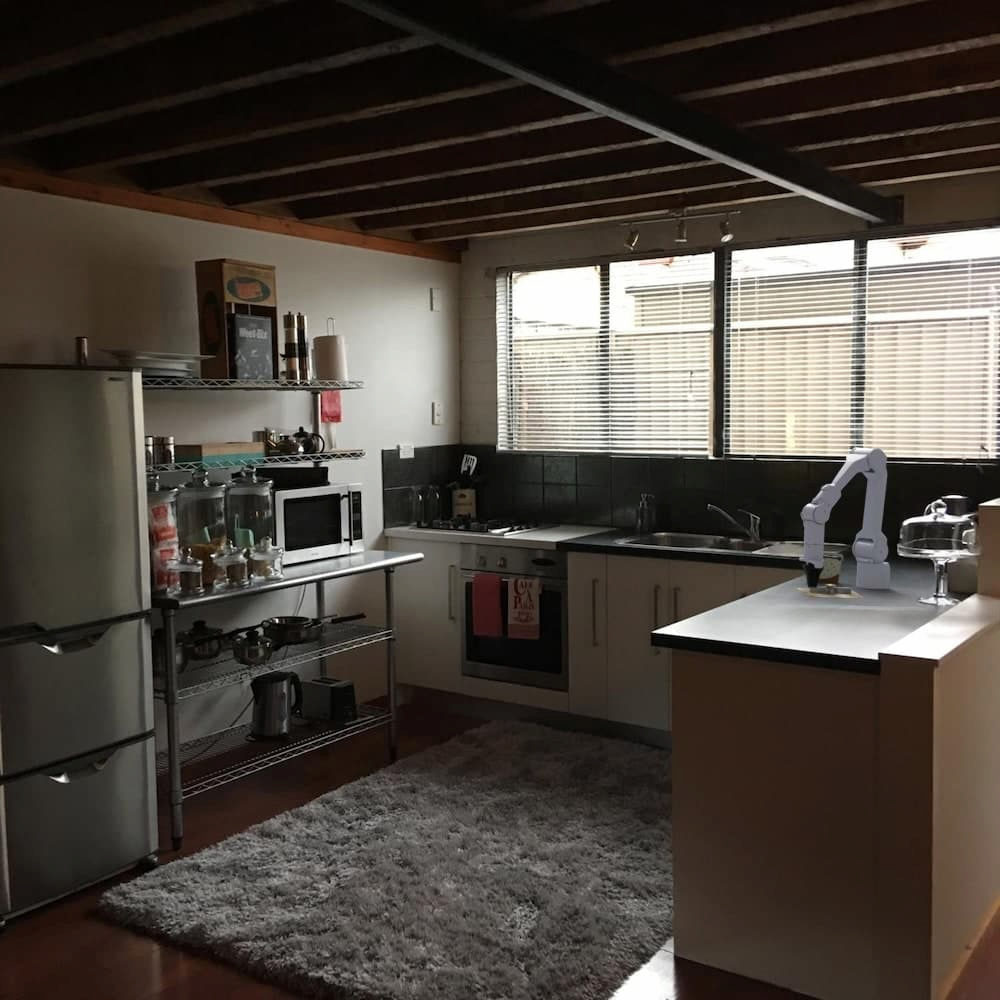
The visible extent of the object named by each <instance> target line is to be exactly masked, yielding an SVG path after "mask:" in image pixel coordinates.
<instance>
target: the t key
mask: <svg viewBox="0 0 1000 1000" xmlns="http://www.w3.org/2000/svg"><path fill="white" fill-rule="evenodd" d="M827 587H828V586H825V585H824V586H817V587H809V592H810V593H826V594H837V593H841V594H851V590H852V588H851V587H847V586H846V587H845V586H844V587H839V586H838V587H837V586H835V587H833V588H827Z"/></svg>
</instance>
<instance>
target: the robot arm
mask: <svg viewBox="0 0 1000 1000" xmlns="http://www.w3.org/2000/svg"><path fill="white" fill-rule="evenodd" d="M845 458H846V459H845V462H844V464H843V466H842V467H841V469H840V470H839V471H838V472H837V474H836V476H835V477H834V479H833V480H832V482H831V483H827V484H825V485H822V486H821V488H820V490H819V492H818V493H817V495H816V496H815V497H814V498H813V499H812V500H811V502H810V503H808V504H806V505H805V506H804V507H803V508H802V511H801V512H800V517H801V519H802V521H803V522H802V523H803V527H804V531H803V534H804V536H803V557H799V561H800V562H805V563H806V562H808V564H807V565H806V564H802V568H803V570H804V573H805V578H806V584H807V588H809V587H818V585H819V583H818V580H819V577H820V574H821V572H822V571H823V569H824V567H823V566H822V563H823V562H824V559H823V552H824V548H825V545H824V544H825V523H826V522H827V521H829V519H830V516H831V515H830V514H831V511H832V508H833V507H834V506H835V505H836V503H837V502H839V499H840V498H841V497H842V492H841V491H842V489H844V487H846V486H847V484H848V483H849V482H850V481H851V480H852V479H853V477H855V476H856V474H858V473H862V474H863V475H864V476H865V478H866V479H867V484H866V485H867V486H866V493H865V500H864V501H865V502H864V511H863V520H862V529H861V530H860V531H858V533H856V535H855V539H854V542H853V543H852V547H851V551H852V554H853V555H854V557H855V560H856V564H857V565H856V585H855V586H856V588H860V589H865V590H868V589H869V590H872V589H873V590H890V587H891V586H890V581H891V566H890V564H889V562H887V561H886V562H885V560H886V559H887V557H888V554H889V547H888V538H887V537H886V535H885V534H884V533H883V531H882V524H883V517H884V508H885V506H884V505H885V501H886V499H885V498H886V492H887V491H886V490H887V481H888V480H887V479H888V471H887V461H888V456H887V455H886V453H885V452H884V451H883V450H882V449H880V448H877V447H876V448H875V447H874V448H870V447H869V448H866V447H860V446H856V447H854V448H852V449H851V450H850V452H849V453H848V454H847V455H846V457H845Z"/></svg>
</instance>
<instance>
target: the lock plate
mask: <svg viewBox="0 0 1000 1000" xmlns="http://www.w3.org/2000/svg"><path fill="white" fill-rule="evenodd" d="M825 586H828V587H827V588H833V587H837V585H836V584H835V583H824V587H825ZM796 589H798V590H799V591H800V592H801V593H803V594H804V595H806V596H807V597H809V598H835V599H836V598H838V599H840V598H843V599H844V598H845V599H865V597H864V596H862V595H861V594H859V593H858V592H856V591H854V590H853V589H851V594H841V593H837V594H826V593H810V592H809V588H808V587H797V588H796Z"/></svg>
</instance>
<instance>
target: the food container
mask: <svg viewBox="0 0 1000 1000" xmlns="http://www.w3.org/2000/svg"><path fill="white" fill-rule="evenodd" d="M823 559H824V562H823V563H822V566H823V567H824V569H823V571H822V572H821V574H820V577H819V580H818V584H820V583H822V584H823V583H824V584H839V583H840V577H841V569H842V563H843V562H845V560H844V555H843V554H841V553H836V552H826V551H825V552H824V551H823ZM807 564H808V562H805V565H807Z"/></svg>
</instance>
